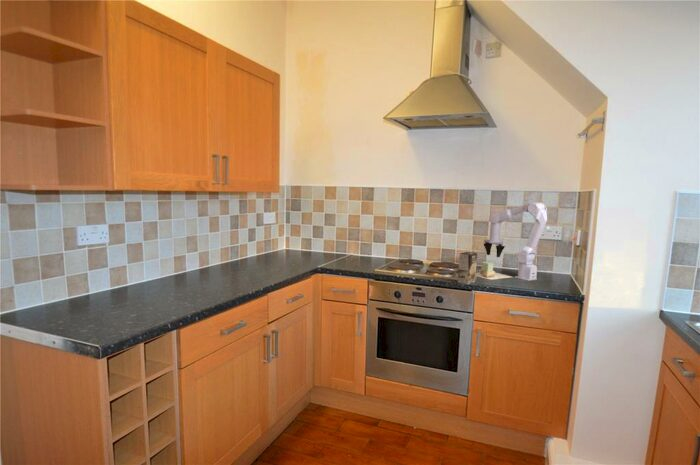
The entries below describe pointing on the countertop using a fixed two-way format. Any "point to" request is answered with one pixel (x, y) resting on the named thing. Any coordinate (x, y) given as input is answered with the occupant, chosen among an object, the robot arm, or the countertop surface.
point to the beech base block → (486, 273)
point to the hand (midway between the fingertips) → (493, 256)
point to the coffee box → (467, 267)
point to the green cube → (487, 266)
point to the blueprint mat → (495, 276)
